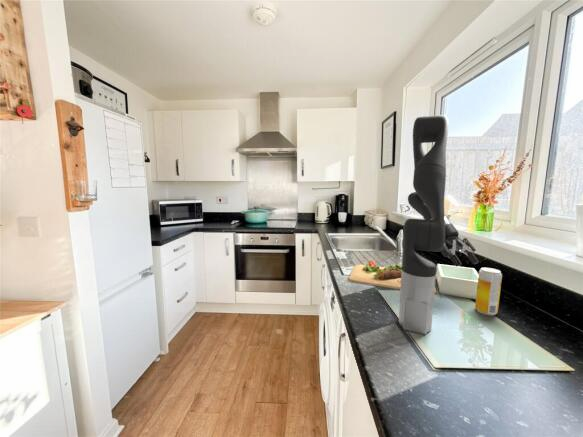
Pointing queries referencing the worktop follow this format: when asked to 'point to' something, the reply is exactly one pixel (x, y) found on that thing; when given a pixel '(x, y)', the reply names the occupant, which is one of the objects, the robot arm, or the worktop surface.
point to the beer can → (488, 291)
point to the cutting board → (378, 275)
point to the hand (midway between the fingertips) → (467, 264)
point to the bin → (457, 280)
